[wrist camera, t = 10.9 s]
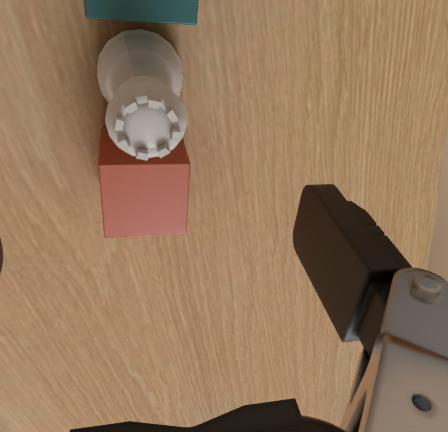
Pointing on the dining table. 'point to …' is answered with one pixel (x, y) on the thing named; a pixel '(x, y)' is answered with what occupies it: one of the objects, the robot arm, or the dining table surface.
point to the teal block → (143, 11)
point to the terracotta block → (143, 191)
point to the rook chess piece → (142, 93)
